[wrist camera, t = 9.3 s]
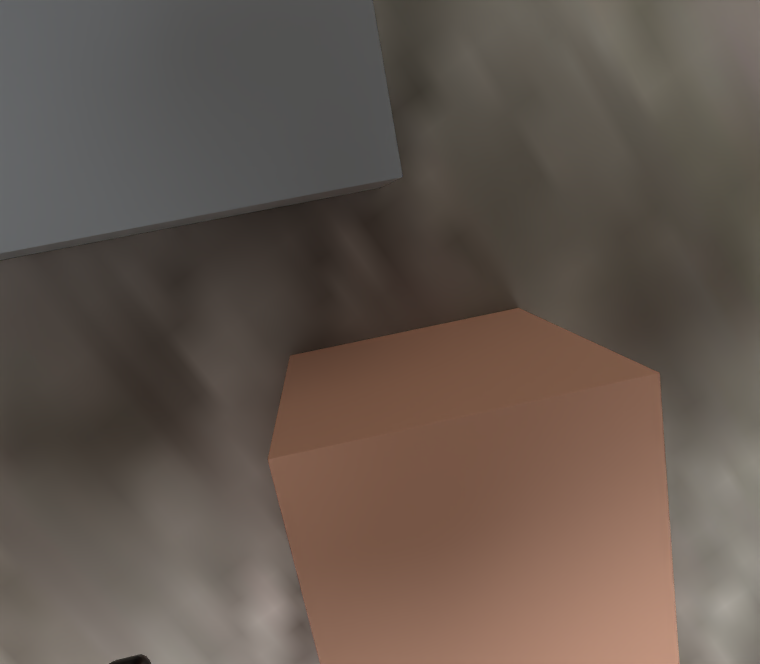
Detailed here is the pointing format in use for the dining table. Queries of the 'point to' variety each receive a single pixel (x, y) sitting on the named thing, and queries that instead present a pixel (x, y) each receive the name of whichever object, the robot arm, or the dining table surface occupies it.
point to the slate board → (183, 113)
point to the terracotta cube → (478, 498)
